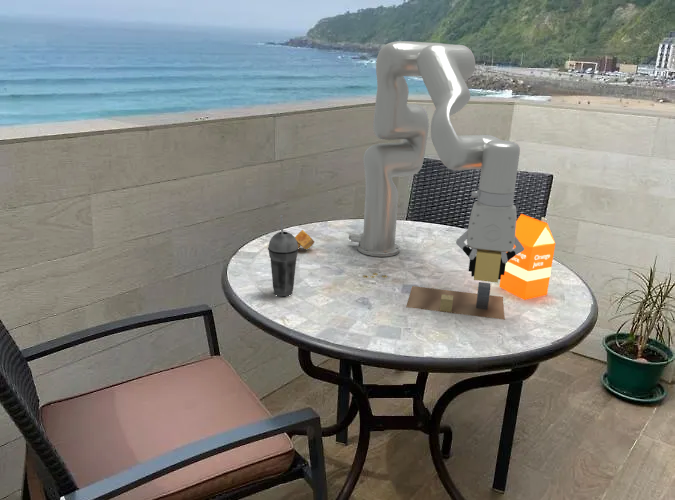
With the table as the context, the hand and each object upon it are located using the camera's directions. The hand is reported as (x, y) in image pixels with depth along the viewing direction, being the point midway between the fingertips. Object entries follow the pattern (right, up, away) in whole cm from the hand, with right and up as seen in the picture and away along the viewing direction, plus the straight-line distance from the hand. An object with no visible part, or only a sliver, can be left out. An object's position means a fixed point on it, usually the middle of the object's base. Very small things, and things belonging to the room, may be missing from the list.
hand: (485, 275), depth 134 cm
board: (-6, -8, +5) cm, 11 cm away
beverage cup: (-47, -5, +9) cm, 48 cm away
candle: (+22, 0, +30) cm, 37 cm away
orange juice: (+12, -6, +13) cm, 19 cm away
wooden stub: (-9, -8, +1) cm, 12 cm away
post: (0, -7, +3) cm, 8 cm away
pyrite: (-44, +5, +39) cm, 59 cm away
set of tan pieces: (-24, -3, +19) cm, 31 cm away
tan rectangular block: (0, 0, 0) cm, 0 cm away
